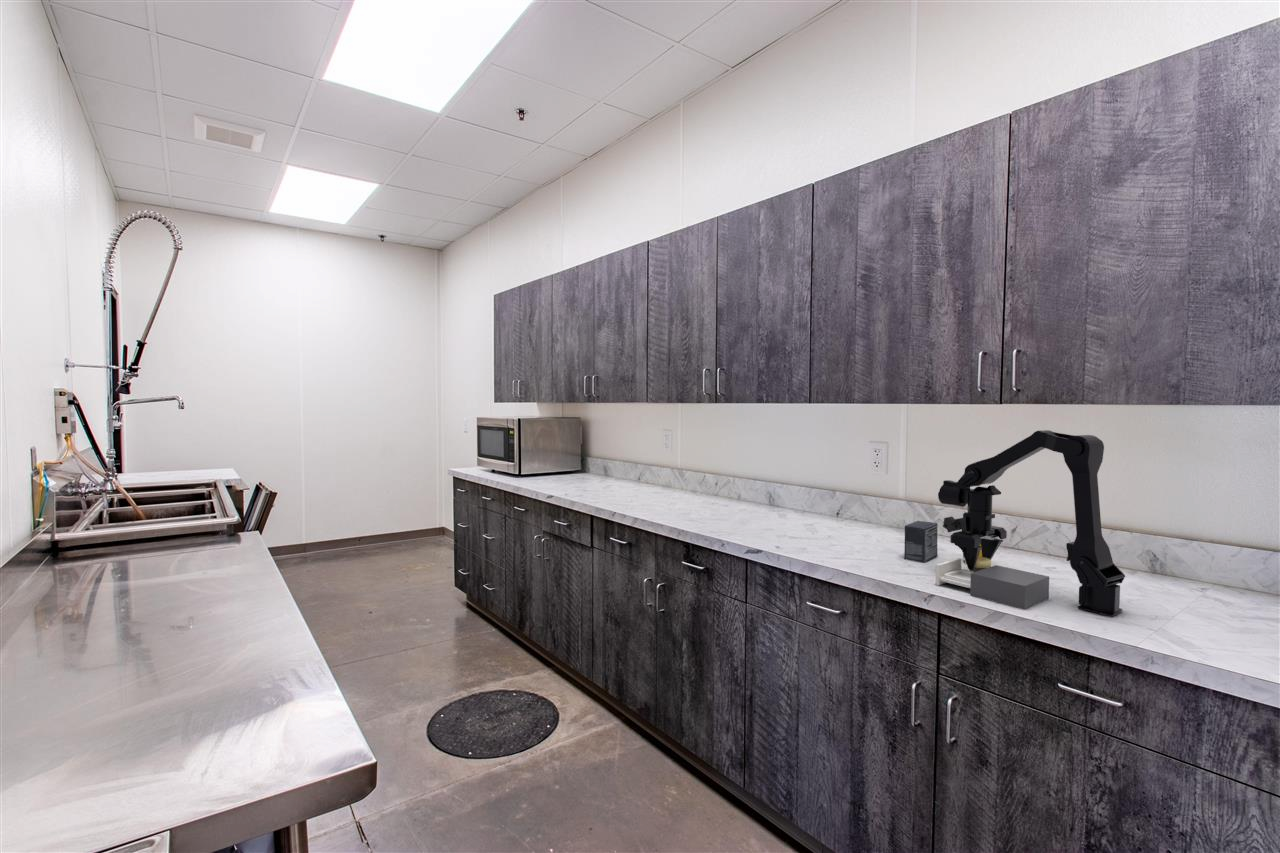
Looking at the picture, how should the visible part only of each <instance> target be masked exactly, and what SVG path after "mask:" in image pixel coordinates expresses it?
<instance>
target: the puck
mask: <svg viewBox="0 0 1280 853" xmlns="http://www.w3.org/2000/svg"><path fill="white" fill-rule="evenodd" d="M983 569H986V568H977V567H974V569H973V570H969V571H972V572H977V571H980V570H983Z"/></svg>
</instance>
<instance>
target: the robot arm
mask: <svg viewBox="0 0 1280 853" xmlns="http://www.w3.org/2000/svg"><path fill="white" fill-rule="evenodd" d="M1104 444H1105V443H1104V442H1103V440H1101V439H1100V438H1098V436H1096V435H1091V434H1083V435H1082V434H1080V435H1078V434H1077V435H1073V434H1067V433H1061V432H1055V431H1052V430H1048V429H1047V430H1043V429H1042V430H1036V431H1034V432H1033V433H1032V434H1031V435H1029V436H1027V437H1025V438H1024V439H1022V440H1020V441H1018V442H1017V443H1015V444H1013V445H1012V446H1010V447H1008V448H1006V449H1005V450H1003V451H1001V452H1000V453H998V454H996V455H994V456H992V457H990V458H985V459H982V460H979V461H975V462H972V463H970V464H968V465H967V466H966V467H965V468H964V473H963V474H962V475H961V477H960V478H959V479H958V480H957V481H954V480H951V479H947V480H943V481H942V482H943V484H942V485H941V487H940V488H939V490H938V494H937V498H938V500H939V502H940V503H941V504H943V505H948V506H954V507H961V508H964V507H967V510H966V511H967V512H966V511H965V512H963V513H962V517H960V518H955V517H954V516H947V517H944V518H943V521H942V522H943V524H942V527H943V528H944V529H946V530H947V533H951V532H952V534H950V537H949V538H950V540H949V541H950V543H951V544H954V545H955V546H956V547H958V548H959V549H960V550H961V552H962V555H963V554H964V557H965V560H964V562H965V561H966V564H967V565H966V564H965V565H966V567H967V569H968V571H970V570H973V569H974V566H975V564H976V561H977V559H978V556H979V553H980V551H981V550H982V557H984V558H988V559H990V560H991V561H992V559H993V557H994V556H995V554H996V552H997V550H999V547H1000V546H1001V544H1002V543H1003V542H1004V540H1005V539H1007V538H1008V537H1007V534H1008V533H1007V532H1008V531H1007V530H1006V529H1005V528H1004V527H1002V526H1001V527H1000V526H996V525H995V526H994V525H993V524H992V523H993V521H992V520H993V519H995V518H996V514H995V513H993V496H998V495H1001V494H1002V491H1000V490H999V489H998V488H997V487H996V486H995V485H993V484H994V482H996V481H997V480H998V479H1000V477H1002V476H1003V475H1004V474H1005V472H1006V471H1007V470H1009V468H1010V469H1011V467H1013V466H1015V465H1017V464H1019V463H1021V462H1022V461H1025V460H1026V459H1028V458H1030V457H1031V456H1033V455H1035V454H1037V453H1039V452H1040V451H1042V450H1043V451H1044V449H1046V450H1050V451H1053V452H1056V453H1059V454H1062V455H1063V459H1064V462H1065V465H1066V466H1067V468H1068V470H1069V471H1070V473H1071V476H1072V477H1071V478H1072V490H1073V492H1072V493H1073V504H1074V516H1075V517H1074V518H1075V531H1076V536H1075V539H1074V541H1071V542H1067V543H1066V544H1065V545H1066V546H1065V547H1066V552H1067V558H1066V561H1067V562H1069V564H1070V567H1071V569H1072V570H1073V571H1074V572H1075V573H1076V576H1077V579H1078V581H1079V584H1081V585H1080V586H1078V604H1079V605H1078V606H1077V608H1078V610H1079V609H1080V610H1084V611H1086V612H1091V613H1095V614H1100V615H1104V616H1107V617H1115V616H1116V615H1118V614H1120V613H1121V612H1123V608H1120V605H1121V604H1120V601H1121V600H1120V598H1121V585H1120V584H1123V582H1124V580H1125V578H1126V575H1125V573H1124V572H1123V571H1122V570H1120V568H1119V567H1118V566H1117V565H1116V564H1115V563H1114V561H1113V557H1112V553H1111V549H1110V547H1109V544H1108V543H1107V541H1106V540H1105V538H1104V536H1103V534H1102V532H1103V530H1102V519H1101V508H1100V507H1101V506H1100V505H1101V504H1100V495H1099V494H1100V493H1099V481H1098V480H1099V479H1098V473H1099V470H1100V468H1101V465H1102V463H1103V459H1104V452H1105V451H1104V450H1105V445H1104ZM989 484H992V485H989ZM981 485H988V486H987V487H985V486H981ZM972 487H975V488H972ZM968 532H969V533H968ZM980 544H981V546H980Z"/></svg>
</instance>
